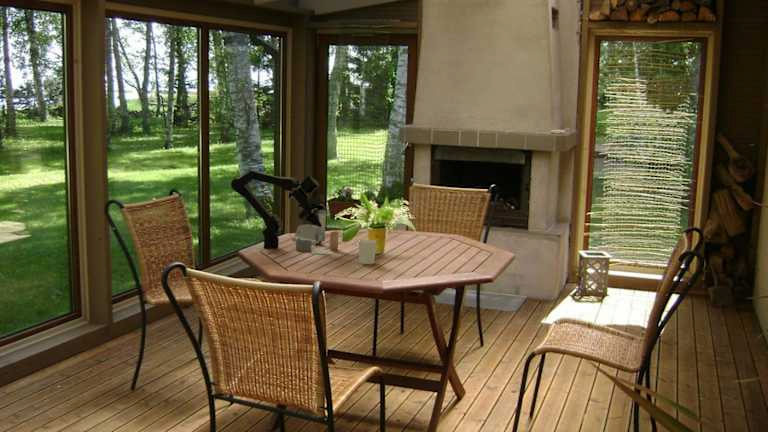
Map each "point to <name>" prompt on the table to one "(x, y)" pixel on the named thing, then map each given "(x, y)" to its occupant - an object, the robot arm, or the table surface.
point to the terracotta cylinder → (333, 241)
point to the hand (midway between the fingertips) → (323, 225)
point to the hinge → (306, 234)
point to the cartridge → (321, 230)
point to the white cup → (367, 251)
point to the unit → (303, 244)
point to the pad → (319, 252)
